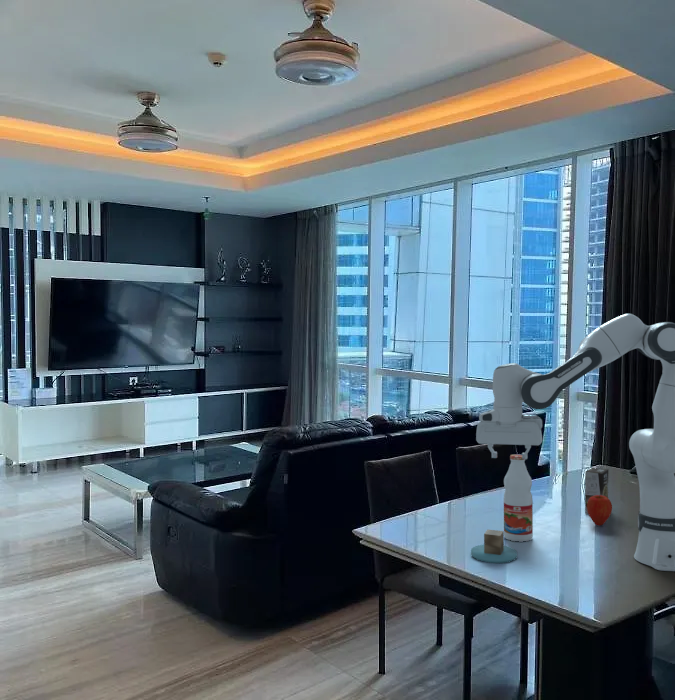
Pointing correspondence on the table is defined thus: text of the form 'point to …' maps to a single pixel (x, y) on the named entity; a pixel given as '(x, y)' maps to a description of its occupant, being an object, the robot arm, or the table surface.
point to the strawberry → (599, 509)
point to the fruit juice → (518, 501)
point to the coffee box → (595, 484)
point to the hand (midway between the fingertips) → (509, 458)
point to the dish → (494, 555)
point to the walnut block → (494, 542)
